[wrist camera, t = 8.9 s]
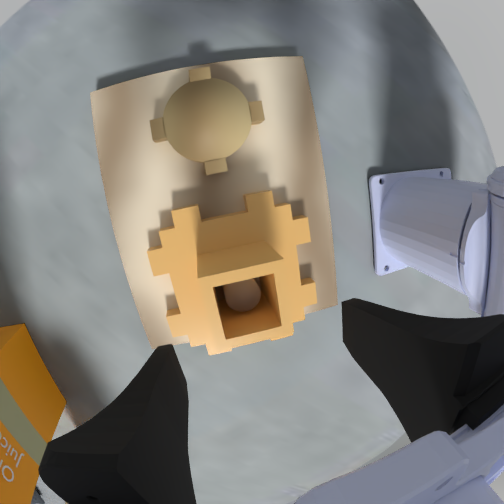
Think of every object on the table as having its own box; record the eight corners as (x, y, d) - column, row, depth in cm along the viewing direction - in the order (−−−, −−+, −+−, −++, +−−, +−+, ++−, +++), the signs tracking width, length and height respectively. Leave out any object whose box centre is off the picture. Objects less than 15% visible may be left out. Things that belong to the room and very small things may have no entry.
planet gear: (297, 184, 18) (331, 189, 14) (314, 321, 21) (343, 357, 17) (141, 216, 17) (122, 232, 12) (181, 353, 20) (180, 399, 15)
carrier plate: (296, 61, 17) (319, 39, 13) (331, 298, 22) (356, 322, 18) (95, 96, 16) (73, 80, 12) (153, 340, 21) (147, 374, 17)
